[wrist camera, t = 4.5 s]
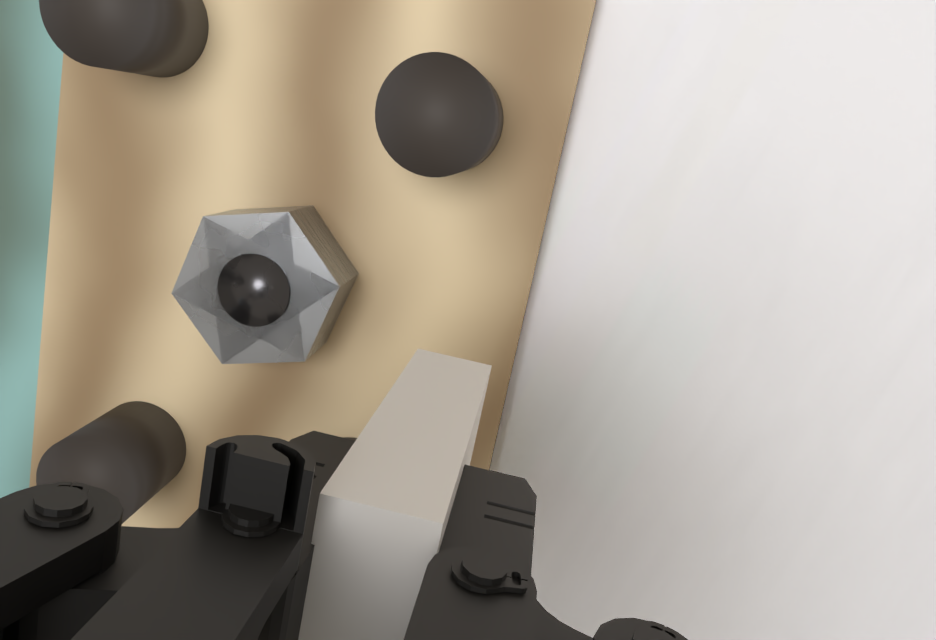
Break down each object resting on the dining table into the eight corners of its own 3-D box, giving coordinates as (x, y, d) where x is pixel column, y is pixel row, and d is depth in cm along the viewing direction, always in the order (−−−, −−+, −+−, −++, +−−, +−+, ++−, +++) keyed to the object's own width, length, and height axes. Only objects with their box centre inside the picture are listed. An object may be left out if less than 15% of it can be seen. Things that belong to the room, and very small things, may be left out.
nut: (213, 345, 27) (179, 366, 24) (196, 211, 26) (159, 218, 23) (364, 340, 26) (345, 361, 24) (352, 203, 25) (331, 209, 23)
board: (-108, 551, 31) (-216, 619, 27) (-84, -143, 25) (-218, -203, 21) (441, 690, 30) (421, 784, 26) (600, -6, 24) (610, -39, 20)
